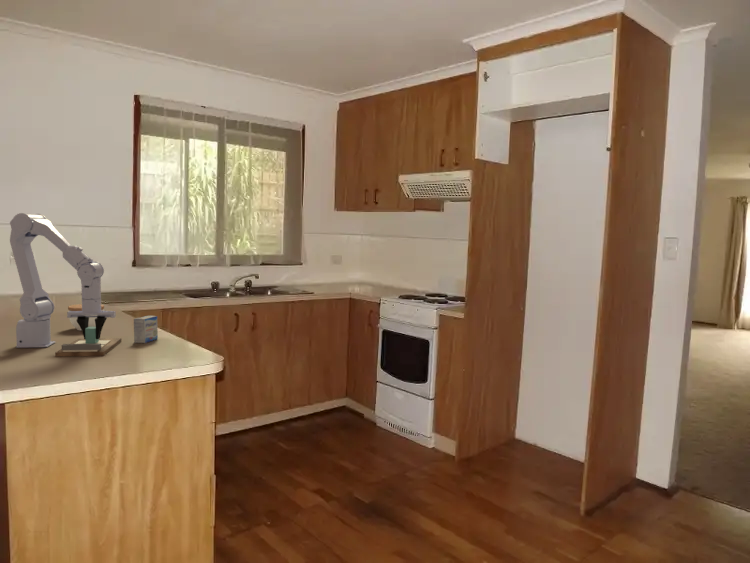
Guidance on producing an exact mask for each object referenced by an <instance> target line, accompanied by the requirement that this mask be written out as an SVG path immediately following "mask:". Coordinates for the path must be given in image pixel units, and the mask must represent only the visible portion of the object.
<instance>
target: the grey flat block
mask: <svg viewBox="0 0 750 563" xmlns="http://www.w3.org/2000/svg"><path fill="white" fill-rule="evenodd" d="M104 346H105V344H71V343H63V344H62V345H61V349H62V350H63V352H95V351H99V350H100V349H101V348H103V347H104Z"/></svg>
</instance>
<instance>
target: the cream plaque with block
mask: <svg viewBox="0 0 750 563" xmlns="http://www.w3.org/2000/svg"><path fill="white" fill-rule="evenodd" d="M99 339H100V338H99ZM99 339H96V327H87V328H86V329H85V340H86V341H78V342H76V343H75V344H105V345H107V344H108V343H109V342H111V340H99Z"/></svg>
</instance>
